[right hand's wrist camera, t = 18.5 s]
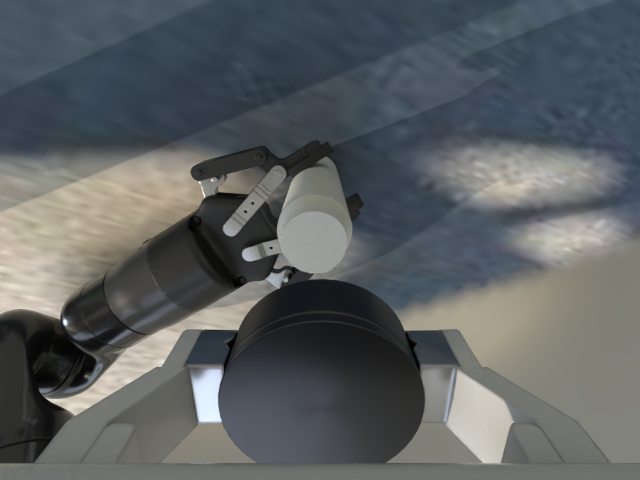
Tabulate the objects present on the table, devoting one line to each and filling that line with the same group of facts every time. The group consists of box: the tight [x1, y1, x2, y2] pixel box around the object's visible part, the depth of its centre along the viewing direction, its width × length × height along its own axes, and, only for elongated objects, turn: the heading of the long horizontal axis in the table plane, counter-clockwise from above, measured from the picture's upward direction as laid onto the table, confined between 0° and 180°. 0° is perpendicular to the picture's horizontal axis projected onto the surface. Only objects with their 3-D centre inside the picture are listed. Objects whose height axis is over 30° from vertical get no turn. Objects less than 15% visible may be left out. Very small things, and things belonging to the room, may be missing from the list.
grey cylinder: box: [277, 157, 352, 274], centre depth 27 cm, size 4×4×18 cm
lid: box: [218, 279, 425, 463], centre depth 9 cm, size 5×5×2 cm
